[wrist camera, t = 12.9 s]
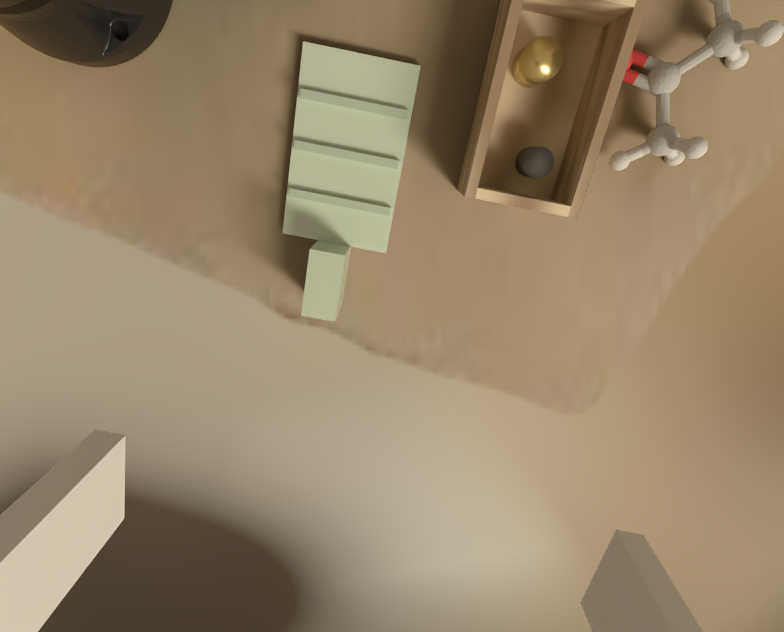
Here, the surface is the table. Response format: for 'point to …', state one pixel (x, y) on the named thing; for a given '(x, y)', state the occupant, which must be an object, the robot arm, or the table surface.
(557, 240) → the table surface
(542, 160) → the rubber stopper
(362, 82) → the ridged block with tab
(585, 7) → the tub
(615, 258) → the table surface
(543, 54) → the brass weight
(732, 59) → the molecular model
